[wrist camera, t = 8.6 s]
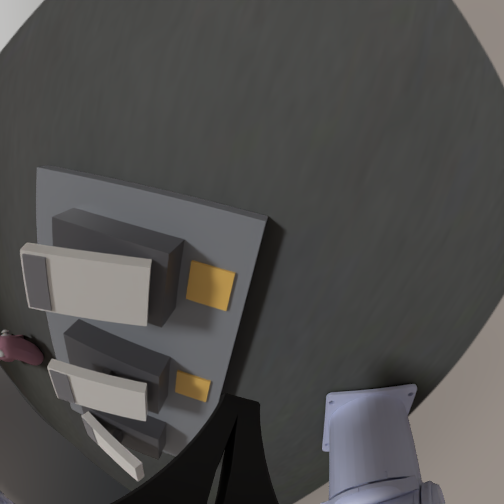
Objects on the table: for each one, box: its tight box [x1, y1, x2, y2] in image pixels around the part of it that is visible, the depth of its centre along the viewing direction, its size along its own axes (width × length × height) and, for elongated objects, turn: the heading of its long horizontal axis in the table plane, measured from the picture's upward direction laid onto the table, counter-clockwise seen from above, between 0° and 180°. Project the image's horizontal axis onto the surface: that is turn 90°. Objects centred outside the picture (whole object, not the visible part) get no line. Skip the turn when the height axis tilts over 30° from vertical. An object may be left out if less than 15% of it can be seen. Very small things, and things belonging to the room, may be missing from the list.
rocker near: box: [20, 243, 152, 326], centre depth 15 cm, size 8×4×1 cm, turn 77°
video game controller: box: [0, 330, 44, 365], centre depth 26 cm, size 10×5×7 cm, turn 106°
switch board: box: [36, 165, 268, 460], centre depth 22 cm, size 18×30×5 cm, turn 167°
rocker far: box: [81, 411, 144, 481], centre depth 23 cm, size 8×4×1 cm, turn 76°
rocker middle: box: [47, 359, 148, 421], centre depth 19 cm, size 8×4×1 cm, turn 77°
